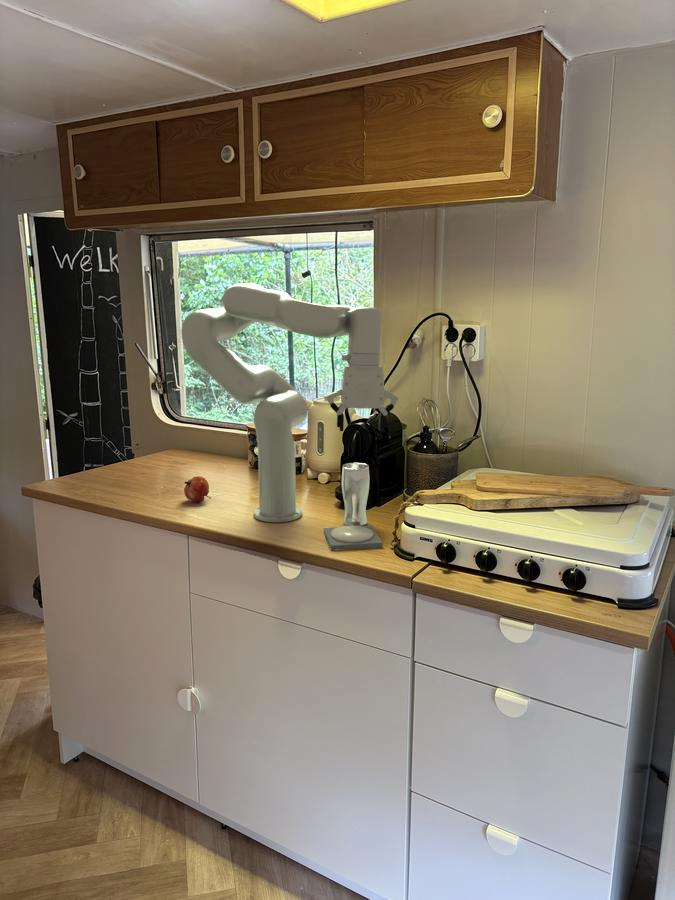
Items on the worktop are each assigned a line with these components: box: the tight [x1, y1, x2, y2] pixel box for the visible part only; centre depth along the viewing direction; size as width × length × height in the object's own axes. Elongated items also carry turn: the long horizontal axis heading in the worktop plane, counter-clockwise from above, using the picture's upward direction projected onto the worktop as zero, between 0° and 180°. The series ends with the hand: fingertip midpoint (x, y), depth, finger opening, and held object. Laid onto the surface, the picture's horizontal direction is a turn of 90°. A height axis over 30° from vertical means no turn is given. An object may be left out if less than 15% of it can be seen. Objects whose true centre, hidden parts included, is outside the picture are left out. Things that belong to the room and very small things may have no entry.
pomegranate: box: [183, 476, 212, 504], centre depth 196 cm, size 7×7×10 cm
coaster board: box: [323, 525, 383, 551], centre depth 166 cm, size 12×12×2 cm
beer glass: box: [341, 462, 370, 526], centre depth 177 cm, size 7×7×15 cm
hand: (360, 430), depth 170 cm, fingers open, 9 cm apart
